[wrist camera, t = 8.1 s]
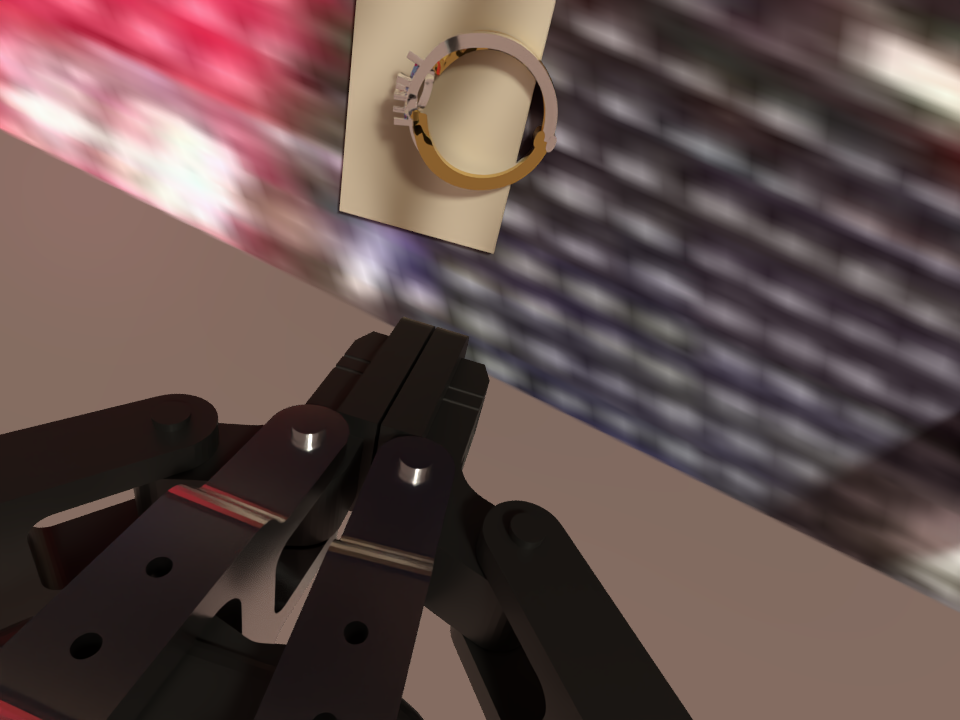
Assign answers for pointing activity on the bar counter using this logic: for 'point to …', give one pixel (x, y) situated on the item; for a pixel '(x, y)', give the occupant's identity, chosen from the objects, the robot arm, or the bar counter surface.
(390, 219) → the birch board
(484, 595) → the robot arm
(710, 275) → the bar counter surface
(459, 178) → the ring
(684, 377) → the bar counter surface
